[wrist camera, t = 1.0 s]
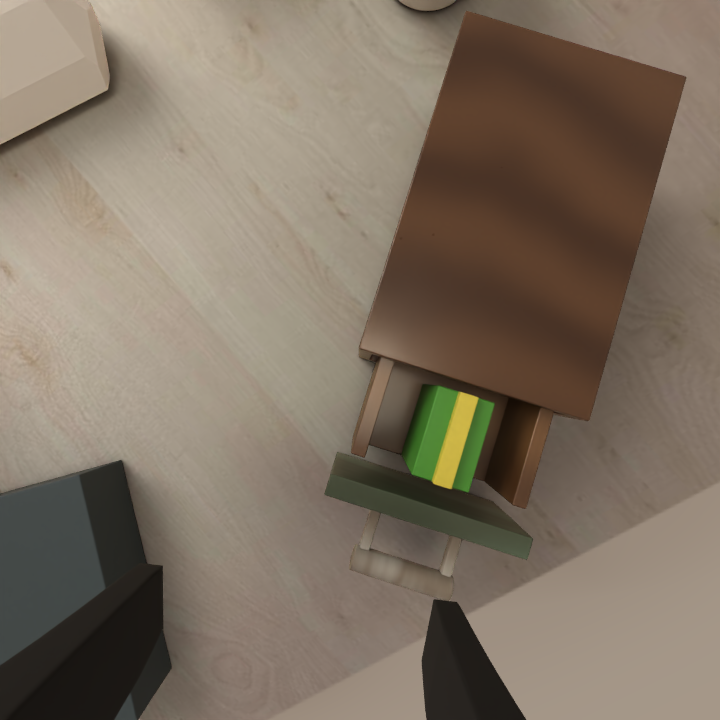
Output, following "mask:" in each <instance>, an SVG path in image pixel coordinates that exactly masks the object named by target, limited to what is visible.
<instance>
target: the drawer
mask: <svg viewBox="0 0 720 720" xmlns="http://www.w3.org/2000/svg"><path fill="white" fill-rule="evenodd" d="M423 384H429V385H439V386H443V387H446V388H449V389H452V390H456V391H459V392H463V393H467V394H470V395H473V396H476V397H478V398H481V399H484V400H487V401H490V402H494V403H495V406H494V409H493V412H492V416H491V419H490V423H489V426H488V429H487V433H486V436H485V439H484V443H483V446H482V450H481V453H480V456H479V460H478V463H477V466H476V470H475V473H474V477H473V478H475V479H478V480H481V481H485V482H486V483H487V484H488V485H489V486H491V487H492V488H493V489H494V490H495V491H497V492H498V493H499V494H500V495H501V496H503V497H504V498H505V499H506V500H507V501H509V502H510V503H511V504H512V505H514V506H517V507H521V508H524V509H526V507H527V503H528V500H529V496H530V493H531V490H532V486H533V483H534V479H535V476H536V472H537V469H538V465H539V462H540V458H541V455H542V451H543V448H544V444H545V441H546V437H547V434H548V431H549V427H550V424H551V420H552V417H553V413H554V411H551V410H548V409H545V408H541V407H538V406H535V405H532V404H529V403H526V402H522V401H519V400H516V399H513V398H510V397H507V396H503V395H500V394H497V393H494V392H491V391H488V390H484V389H481V388H478V387H475V386H472V385H469V384H465V383H462V382H459V381H456V380H453V379H449V378H446V377H443V376H440V375H437V374H434V373H430V372H427V371H424V370H421V369H418V368H415V367H411V366H408V365H405V364H402V363H399V362H396V361H392V360H389V359H386V358H383V357H380V356H378V358H377V362H376V365H375V368H374V371H373V374H372V377H371V381H370V384H369V387H368V390H367V393H366V396H365V400H364V403H363V406H362V409H361V412H360V416H359V419H358V422H357V425H356V428H355V431H354V435H353V439H352V448H351V453H352V454H355V455H358V456H361V457H365V455H366V452H367V449H368V445H372V446H375V447H378V448H381V449H384V450H387V451H391V452H394V453H397V454H400V455H401V453H402V450H403V447H404V444H405V440H406V437H407V434H408V430H409V427H410V424H411V421H412V417H413V414H414V411H415V408H416V404H417V401H418V398H419V395H420V391H421V388H422V385H423ZM325 495H327V496H330V497H333V498H336V499H339V500H342V501H345V502H348V503H351V504H355V505H358V506H361V507H364V508H367V509H370V511H369V514H368V518H367V521H366V524H365V527H364V531H363V534H362V537H361V540H360V545H358V544H356V545H355V546H354V549H353V552H352V556H351V560H350V565H349V569H350V570H352V571H355V572H358V573H361V574H364V575H367V576H370V577H373V578H377V579H380V580H383V581H386V582H389V583H392V584H395V585H398V586H401V587H404V588H407V589H410V590H414V591H417V592H420V593H423V594H426V595H429V596H432V597H435V598H438V599H441V600H444V601H449V600H450V599H451V597H452V594H453V589H454V580H453V576H452V572H453V569H454V565H455V562H456V558H457V555H458V552H459V548H460V545H461V541H462V539H463V540H466V541H470V542H473V543H476V544H479V545H482V546H485V547H488V548H491V549H494V550H498V551H501V552H504V553H507V554H510V555H513V556H516V557H519V558H522V559H526V560H527V559H528V555H529V552H530V548H531V545H532V541H533V538H532V537H531V536H530V535H529V534H528V533H527V532H525V531H524V530H523V529H522V528H521V527H520V526H519V525H518V524H517V523H516V522H515V521H514V520H513V519H511V518H510V517H509V516H508V515H507V514H506V513H505V512H504V511H503V510H502V509H501V508H500V507H498V506H497V505H496V504H495V503H494V502H493V501H490V500H487V499H483V498H480V497H477V496H474V495H471V494H468V493H465V492H461V491H458V490H455V489H448V488H444V487H441V486H438V485H435V484H433V482H430V481H427V480H424V479H421V478H418V477H415V476H411V475H408V474H405V473H402V472H399V471H396V470H393V469H390V468H386V467H383V466H380V465H377V464H374V463H371V462H368V461H365V460H361V459H358V458H355V457H352V456H349V455H346V454H343V453H340V452H337V455H336V458H335V461H334V464H333V467H332V471H331V474H330V477H329V481H328V484H327V487H326V491H325ZM381 513H383V514H386V515H389V516H392V517H395V518H398V519H401V520H404V521H407V522H411V523H414V524H417V525H420V526H423V527H426V528H429V529H432V530H435V531H438V532H442V533H445V534H448V535H449V539H448V542H447V545H446V549H445V552H444V555H443V559H442V562H441V565H440V571H439V570H436V569H433V568H429V567H426V566H423V565H420V564H417V563H414V562H411V561H408V560H405V559H402V558H399V557H395V556H392V555H389V554H386V553H383V552H380V551H377V550H374V549H371V548H370V546H371V543H372V540H373V537H374V533H375V530H376V527H377V524H378V520H379V517H380V514H381Z"/></svg>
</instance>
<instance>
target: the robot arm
mask: <svg viewBox="0 0 720 720" xmlns="http://www.w3.org/2000/svg"><path fill="white" fill-rule="evenodd" d="M162 630H163V566H160V565H152V564H144V563H139V564H138V565H137V566H135V567H134V568H132V569H131V570H130V571H128V572H127V573H126V574H124V575H123V576H122V577H120V578H119V579H118V580H116V581H115V582H114V583H112V584H111V585H110V586H108V587H107V588H106V589H104V590H103V591H102V592H101V593H99V594H98V595H97V596H95V597H94V598H93V599H91V600H90V601H89V602H87V603H86V604H85V605H83V606H82V607H81V608H79V609H78V610H77V611H75V612H74V613H73V614H71V615H70V616H69V617H67V618H66V619H64V620H63V621H62V622H60V623H59V624H58V625H56V626H55V627H54V628H52V629H51V630H50V631H48V632H47V633H45V634H44V635H43V636H41V637H40V638H39V639H37V640H36V641H34V642H33V643H32V644H30V645H29V646H27V647H26V648H24V649H23V650H21V651H20V652H19V653H17V654H16V655H14V656H13V657H11V658H10V659H9V660H7V661H6V662H4V663H3V664H1V665H0V720H114V719H115V718H116V716H117V714H118V713H119V711H120V709H121V707H122V706H123V704H124V702H125V701H126V699H127V697H128V696H129V694H130V692H131V691H132V689H133V687H134V686H135V684H136V682H137V680H138V679H139V677H140V675H141V673H142V671H143V669H144V667H145V665H146V663H147V661H148V659H149V657H150V655H151V653H152V651H153V649H154V647H155V644H156V642H157V640H158V638H159V636H160V634H161V632H162ZM422 672H423V687H424V699H425V711H426V718H427V720H526V719H525V717H524V716H523V714H522V712H521V711H520V709H519V708H518V706H517V704H516V703H515V701H514V699H513V698H512V696H511V695H510V693H509V691H508V690H507V688H506V686H505V685H504V683H503V682H502V680H501V678H500V677H499V675H498V673H497V672H496V670H495V668H494V666H493V665H492V663H491V662H490V660H489V658H488V656H487V654H486V653H485V651H484V649H483V647H482V646H481V644H480V642H479V641H478V639H477V637H476V635H475V633H474V631H473V629H472V628H471V626H470V624H469V622H468V620H467V619H466V617H465V615H464V613H463V611H462V609H461V607H460V606H459V604H458V603H457V602H452V601H443V600H435V599H434V600H433V605H432V611H431V616H430V621H429V626H428V631H427V636H426V642H425V646H424V651H423V656H422Z"/></svg>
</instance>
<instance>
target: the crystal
mask: <svg viewBox="0 0 720 720" xmlns="http://www.w3.org/2000/svg"><path fill="white" fill-rule="evenodd" d="M109 80H110V73H109V68H108V63H107V58H106V53H105V48H104V42H103V37H102V32H101V27H100V23H99V21H98V19H97V16H96V14H95V12H94V10H93V7H92V5H91V4H90V2H89V1H88V0H0V144H2V143H4V142H6V141H8V140H10V139H12V138H14V137H16V136H18V135H20V134H22V133H24V132H26V131H28V130H30V129H32V128H34V127H36V126H38V125H40V124H42V123H44V122H46V121H48V120H50V119H51V118H53V117H55V116H57V115H59V114H61V113H63V112H65V111H67V110H69V109H71V108H73V107H75V106H77V105H79V104H81V103H83V102H85V101H87V100H89V99H91V98H93V97H95V96H97V95H99V94H101V93H103V92H104V91H106V90H108V87H109Z"/></svg>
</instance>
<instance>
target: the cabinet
mask: <svg viewBox="0 0 720 720" xmlns="http://www.w3.org/2000/svg"><path fill="white" fill-rule="evenodd" d="M685 80H686V77H685V76H682V75H678V74H675V73H672V72H668V71H665V70H662V69H658V68H655V67H652V66H648V65H645V64H642V63H638V62H635V61H632V60H629V59H625V58H622V57H619V56H615V55H612V54H609V53H605V52H602V51H599V50H595V49H592V48H589V47H585V46H582V45H579V44H575V43H572V42H569V41H565V40H562V39H559V38H555V37H552V36H549V35H545V34H542V33H539V32H536V31H532V30H529V29H526V28H522V27H519V26H516V25H512V24H509V23H506V22H502V21H499V20H496V19H492V18H489V17H486V16H482V15H479V14H476V13H472V12H469V11H466V12H465V15H464V18H463V21H462V24H461V27H460V30H459V34H458V37H457V40H456V43H455V46H454V49H453V53H452V56H451V59H450V62H449V65H448V68H447V71H446V75H445V78H444V81H443V84H442V87H441V90H440V93H439V97H438V100H437V103H436V106H435V109H434V112H433V116H432V119H431V122H430V125H429V128H428V131H427V134H426V138H425V141H424V144H423V147H422V150H421V153H420V157H419V160H418V163H417V166H416V169H415V172H414V175H413V179H412V182H411V185H410V188H409V191H408V194H407V197H406V201H405V204H404V207H403V210H402V213H401V216H400V220H399V223H398V226H397V229H396V232H395V235H394V238H393V242H392V245H391V248H390V251H389V254H388V257H387V260H386V264H385V267H384V270H383V273H382V276H381V279H380V283H379V286H378V289H377V292H376V295H375V298H374V301H373V305H372V308H371V311H370V314H369V317H368V320H367V324H366V327H365V330H364V333H363V336H362V339H361V342H360V346H359V357H360V358H363V359H367V360H370V361H373V362H377V358H378V356H380V357H383V358H386V359H389V360H392V361H396V362H399V363H402V364H405V365H408V366H411V367H415V368H418V369H421V370H424V371H427V372H430V373H434V374H437V375H440V376H443V377H446V378H449V379H453V380H456V381H459V382H462V383H465V384H469V385H472V386H475V387H478V388H481V389H484V390H488V391H491V392H494V393H497V394H500V395H503V396H507V397H510V398H513V399H516V400H519V401H522V402H526V403H529V404H532V405H535V406H538V407H541V408H545V409H548V410H551V411H554V413H553V415H558V416H563V417H568V418H573V419H579V420H584V421H589V420H590V416H591V413H592V409H593V406H594V402H595V399H596V395H597V392H598V388H599V385H600V381H601V378H602V374H603V370H604V367H605V363H606V360H607V356H608V353H609V349H610V346H611V342H612V339H613V335H614V332H615V328H616V324H617V321H618V317H619V314H620V310H621V307H622V303H623V300H624V296H625V293H626V289H627V286H628V282H629V278H630V275H631V271H632V268H633V264H634V261H635V257H636V254H637V250H638V247H639V243H640V240H641V236H642V233H643V229H644V225H645V222H646V218H647V215H648V211H649V208H650V204H651V201H652V197H653V194H654V190H655V187H656V183H657V179H658V176H659V172H660V169H661V165H662V162H663V158H664V155H665V151H666V148H667V144H668V141H669V137H670V133H671V130H672V126H673V123H674V119H675V116H676V112H677V109H678V105H679V102H680V98H681V95H682V91H683V87H684V84H685Z"/></svg>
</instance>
